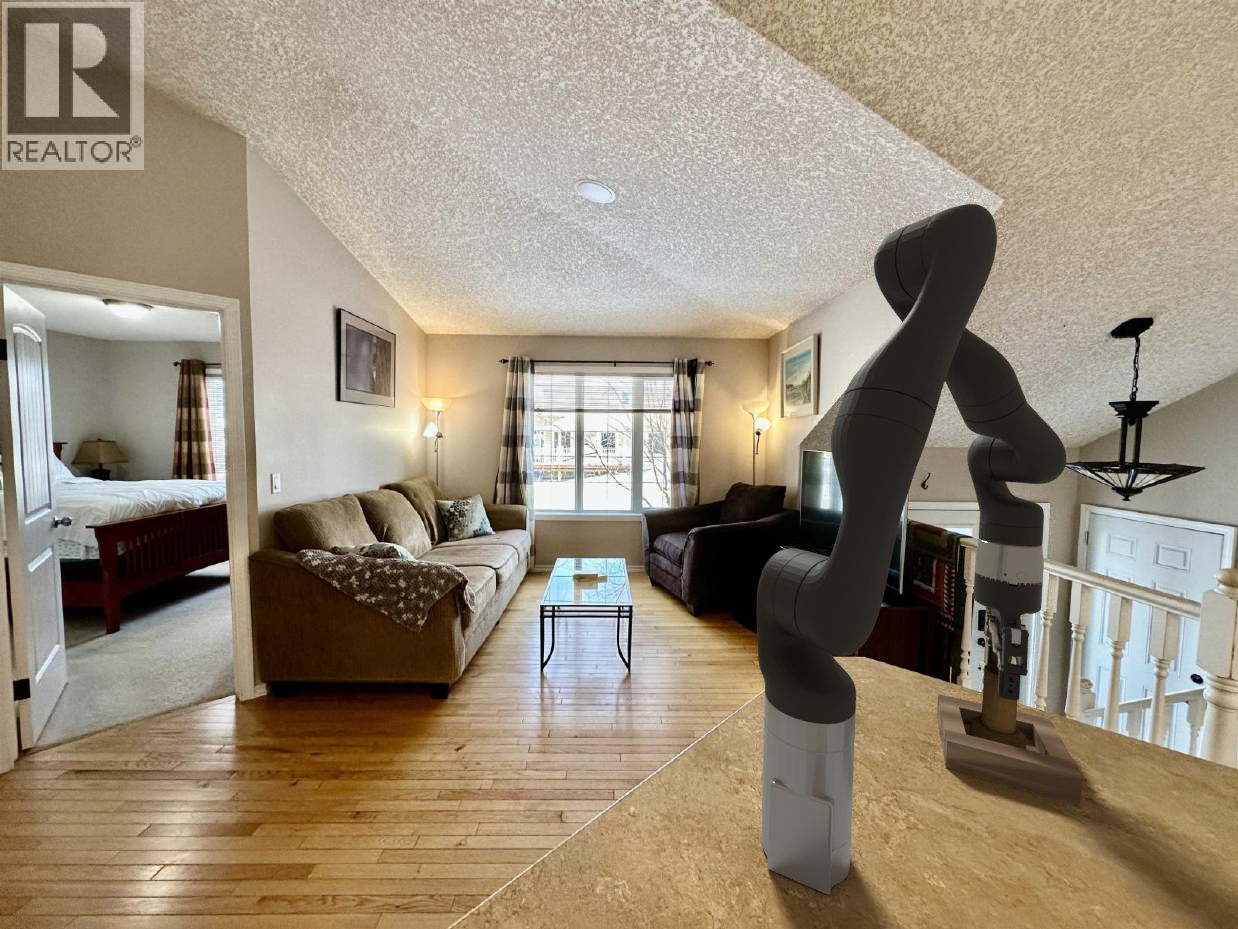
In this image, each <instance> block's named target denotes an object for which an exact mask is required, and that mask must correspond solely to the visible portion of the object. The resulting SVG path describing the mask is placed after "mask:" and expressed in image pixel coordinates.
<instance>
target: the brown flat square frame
mask: <svg viewBox="0 0 1238 929" xmlns="http://www.w3.org/2000/svg"><path fill="white" fill-rule="evenodd" d="M936 706H937V709H936V720H937V724H938V730H939V737H940V738H939V739H940V742H941V743H940V744H941V748H942V753H943V754H942V755H943V761H944V765H945V769H948V770H951V771H953V772H958V773H961V774H966V775H969V776H973V777H976V778H979V779H983V780H986V781H990V782H994V783H997V784H1000V785H1004V786H1008V787H1011V788H1013V789H1018V790H1022V791H1024V792H1029V793H1031V794H1036V795H1039V796H1042V797H1046V798H1049V799H1053V800H1056V801H1059V802H1063V803H1066V804H1071V805H1074V806H1078V807H1081V804H1082V803H1081V802H1082V789H1083V774H1082V772H1081V771H1080V769H1079V767H1078V766H1077V764H1076V762H1075V760H1074V758H1073V757H1072V754H1070V752H1069V749H1068V748H1067V747H1066V744H1065V743H1064V741H1063V739H1062V738H1061V736H1060V734H1059V733H1058V731H1057V729H1056V727H1055V726H1054V724H1053V722H1052V720H1051V719H1050V718H1049V717H1044V716H1040V715H1035V714H1031V713H1026V712H1021V711H1017V716H1016V727H1018V728H1019V730H1020V731H1021V732H1022V733H1023V734H1024V735H1025V736H1026V738H1027V745H1026V749H1022V748H1018V747H1014V746H1010V745H1006V744H1002V743H998V742H994V741H990V740H986V739H982V738H978V737H974V736H970V735H969V732H970V721H971V720H972V719H973V718H975V717H978V716H981V714H982V702H976V701H973V700H972V701H971V700H967V699H963V698H958V697H955V696H949V695H945V694H939V693H938V694H937V705H936Z"/></svg>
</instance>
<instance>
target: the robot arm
mask: <svg viewBox="0 0 1238 929" xmlns="http://www.w3.org/2000/svg"><path fill="white" fill-rule="evenodd" d="M997 233H998V232H997V225H996V221H995V218H994V216H993V215H992V214H991V212H990V210H988V209H987V208H986V207H985V206H983V205H981V204H977V203H976V204H975V203H967V204H961V205H957V206H953V207H950V208H947V209H945V210H942V211H939V212H937V213H935V214H933V215H931V216H928V217H926V218H923V219H920V220H918V221H916V222H913V223H911V224H908V225H906V226H903V227H901V228H899V229H896V230H894V231H892V232H890V233H889V234H887V235H886V236H884V238H882V239H881V241H880V242H879V244H878V246H877V248H876V250H875V254H874V258H873V271H874V277H875V280H876V283H877V285H878V288H879V290H880V292H881V294H882V296H883V297H884V299H885V300H886V302H887V303H888V304H889V306H890V308H891V310H892V311H893V312H894V313H895V314H896V316H897V317H898V318H899V319H900V321H901V322H902V323H901V324H900V325H898V326H897V328H896V329H895V330H894V332H892V334H890V335H889V337H887V339H886V340H884V342H883V343H882V344H881V345H880V346H879V347H878V348H877V349H876V350H875V351H874V352H873V353H872V354H871V355H870V357H869V358H868V359H867V360H866V361H865V362H864V363H863V364H862V365H861V366H860V368H859V369H858V370H857V372H856V373H855V374H854V375H853V377H852V379H851V380H850V381H849V384H848V385H847V388H846V389H845V393H844V395H843V398H842V400H841V403H840V405H839V409H838V412H837V414H836V417H835V420H834V423H833V426H832V429H831V434H830V448H831V449H830V450H831V456H832V462H833V465H834V469H835V473H836V476H837V477H836V478H837V480H838V484H839V488H840V493H841V500H842V512H841V520H840V524H839V529H838V531H837V532H838V533H837V534H836V539H835V541H834V542H835V543H834V545H833V548H832V550H831V553H830V555H829V556H827V555H822V554H820V553H819V554H818V553H815V552H811V551H808V550H804V549H799V548H785V549H781V550H779V551H778V552H776V553H774V554H773V555H772V556H771V557H770V558H769V559H767V562H766V563H765V565H764V567H763V569H762V571H761V573H760V578H759V581H758V585H757V593H756V626H757V627H756V631H757V657H758V658H757V659H758V666H759V668H760V672H761V675H762V677H763V679H764V680H763V681H764V706H763V707H764V710H763V713H764V718H763V742H762V743H763V744H762V745H763V748H762V784H761V786H762V787H761V833H760V834H761V837H760V838H761V845H762V849H763V851H764V853H765V855H766V857H767V862H766V866H767V868H768V870H769V871H772V872H774V873H776V874H779V875H782V876H783V877H786V878H789V879H791V880H793V881H795V882H797V883H800V884H802V885H804V886H806V887H809V888H811V889H814V890H816V891H817V892H820V893H823V894H825V895H829V896H830V895H831V892H832V888H833V887H834V886H836V885H838V884H840V883H841V882H843V881H844V880H845V879H846V878H847V877H848V875H849V872H850V871H851V870H850V867H851V857H852V856H851V853H852V852H851V848H852V823H853V821H852V819H853V797H854V796H853V793H854V792H853V791H854V764H855V763H854V762H855V739H856V719H857V718H856V714H857V712H856V710H857V689H856V685H855V682H854V680H853V678H852V677H851V676H850V674H849V673H848V672H847V671H846V670H845V669H844V667H843V666H842V665H840V663H839V662H838V661H837V660H836V659H835V657H834V656H838V657H847V656H849V655H853V654H854V653H856V652H857V651H859V650H860V649H861V648H862V647H863V646H864V644H865V643H866V642H867V641H868V639H869V637H870V636H871V634H872V632H873V631H874V630H873V629H874V627H875V624H876V622H877V619H878V617H879V614H880V610H881V607H882V603H883V598H884V594H885V590H886V586H887V579H888V576H889V571H890V567H891V562H892V556H893V552H894V547H895V543H896V539H897V534H898V531H899V530H898V529H899V527H900V526H899V525H900V523H901V518H902V516H903V515H902V514H903V511H904V508H905V505H906V500H908V499H907V498H908V495H909V493H910V488H911V485H912V482H913V479H914V476H915V473H916V470H917V467H918V464H919V461H920V460H921V456H922V454H923V451H924V448H925V446H926V443H927V440H928V438H929V434H930V431H931V428H932V425H933V422H934V419H935V415H936V412H937V409H938V405H939V401H940V399H941V396H942V395H941V394H942V392H943V387H944V385H945V384H946V386H947V388H948V390H949V392H950V395H951V396H952V398H953V401H954V403H955V406H956V407H957V410H958V411H959V412H958V413H959V414H960V416H961V418H962V420H963V422H964V424H965V427H967V428H968V429H969V431H971V432H972V433H975V434H976V435H978V436H977V437H976V438H975V439H974V440H972V441H971V443H970V446H969V447H968V450H967V460H966V461H967V466H968V471H969V475H970V477H971V482H972V484H973V488H974V492H975V495H976V499H977V504H978V509H979V510H978V511H979V523H978V539H977V540H978V542H977V547H976V550H975V558H974V560H975V562H974V580H973V581H974V582H973V599H974V601H975V602H976V603H977V604H979V605H981V606H982V607H983V606H984V607H985V615H984V616H985V618H984V619H985V620H984V629H983V635H984V636H985V637H986V638H985V643H986V645H987V650H986V651H987V655H986V665H987V664H994V660H993V656H992V652H993V651H994V653H996V654H997V655H998V668H999V676H998V694H999V696H1000V697H1001V698H1005V699H1009V700H1014V701H1017V700H1018V701H1019V700H1020V691H1021V677H1023V676H1024V677H1027V674H1028V658H1029V657H1028V655H1029V637H1030V633H1029V630H1027V626H1026V624H1023V623H1022V619H1021V618H1022V616H1023V615H1026V614H1027V615H1033V614H1038V613H1039V612H1041V610H1042V601H1043V587H1044V586H1043V585H1044V584H1043V583H1044V567H1045V558H1044V552H1043V551H1044V550H1043V542H1044V525H1045V511H1044V508H1043V507H1042V506H1041V505H1040V504H1039V503H1038V502H1034V501H1031V500H1027V499H1025V498H1021V497H1018V496H1017V495H1014V494H1013V493H1012V492H1011V491H1010V488H1009V487H1008V485H1007V483H1017V484H1018V483H1020V484H1029V485H1030V484H1031V485H1044V484H1048V483H1052V482H1053V481H1055V480H1056V479H1058V478H1059V477H1060V476H1061V474H1063V472H1064V470H1065V469H1066V464H1067V451H1066V448H1065V445H1064V444H1063V442H1062V440H1061V438H1060V436H1059V435H1058V434H1057V433H1056V432H1055V430H1054V429H1053V428H1052V427H1051V426H1050V425H1049V424H1048V423H1047V422H1046V421H1045V420H1044V419H1043V418H1042V417H1041V415H1040V414H1039V413H1038V412H1037V411H1036V410H1035V409H1034V408H1033V407H1032V406H1031V405H1030V404H1029V403H1028V401H1027V398H1026V397H1025V394H1024V391H1023V389H1022V387H1021V384H1020V382H1019V379H1018V376H1017V375H1016V372H1015V370H1014V368H1013V366H1012V365H1011V363H1010V362H1009V361H1008V359H1007V358H1006V357H1005V356H1004V355H1003V354H1002V353H1001V352H1000V351H999V350H998V349H996V348H995V347H994V346H992V345H991V344H990V343H988V342H987V341H985V340H984V339H983V338H981V337H980V336H978V335H977V334H975V333H973V332H972V331H971V330H970V329H968V328H966V327H967V325H968V322H969V320H970V318H971V316H972V314H973V312H974V310H975V309H976V305H977V303H978V302H979V299H980V296H981V294H982V292H983V291H984V287H985V286H986V283H987V281H988V279H989V277H990V275H991V270H992V268H993V265H994V260H995V257H996V252H997V247H998V246H997V245H998V244H997V243H998V234H997ZM990 632H991V633H992V637H991V635H990ZM833 655H834V656H833ZM1008 656H1012V658H1013V657H1014V659H1015V663H1012V662H1011V663H1008ZM994 665H995V664H994ZM1018 701H1017V702H1018Z"/></svg>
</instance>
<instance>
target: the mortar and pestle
mask: <svg viewBox="0 0 1238 929" xmlns="http://www.w3.org/2000/svg"><path fill="white" fill-rule="evenodd" d="M990 635H991V637H992V633H991V632H990ZM992 656H993V660H994V664H995V665H994V664H987V663H986V665H984V667H983V684H982V686H983V688H982V700H981V701H982V702H981V704H982V714H981V716H978V717H975V718H973V719H972V720H971V721H970V732H969V735H970V736H974V737H978V738H982V739H986V740H990V741H994V742H998V743H1002V744H1006V745H1010V746H1014V747H1018V748H1022V749H1026V745H1027V738H1026V736H1025V735H1024V734H1023V733H1022V732H1021V731H1020V730H1019V728H1018V727H1016V716H1017V712H1018V702H1019V700H1017V701H1014V700H1009V699H1005V698H1001V697H1000V696H999V694H998V676H999V668H998V655H997V654H996V653H994V651H993V652H992ZM1012 660H1013V656H1008V663H1011V664H1012Z"/></svg>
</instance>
